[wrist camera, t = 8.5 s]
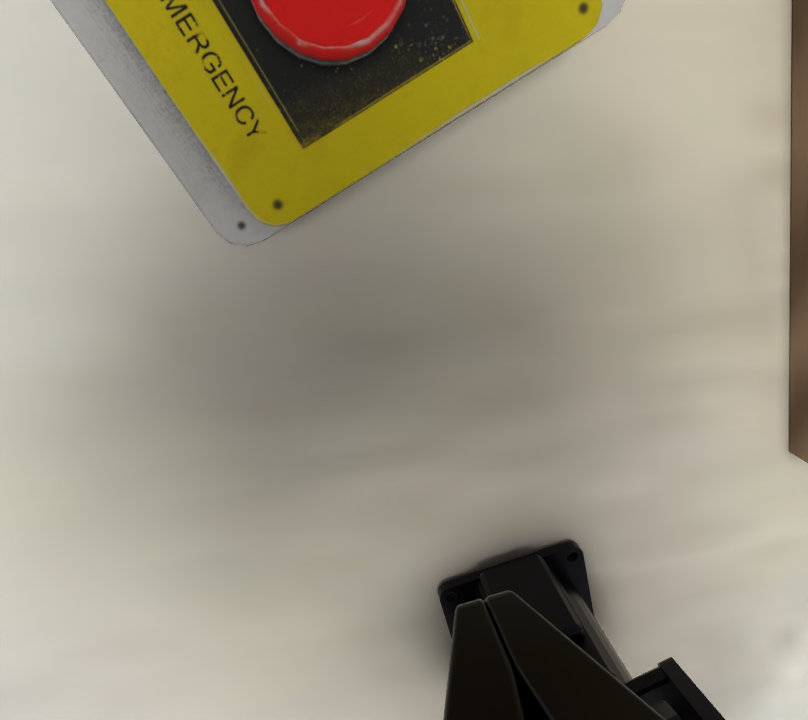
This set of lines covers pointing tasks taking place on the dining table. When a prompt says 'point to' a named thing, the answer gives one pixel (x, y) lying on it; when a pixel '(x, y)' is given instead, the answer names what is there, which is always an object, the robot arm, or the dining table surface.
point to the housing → (799, 236)
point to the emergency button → (310, 85)
